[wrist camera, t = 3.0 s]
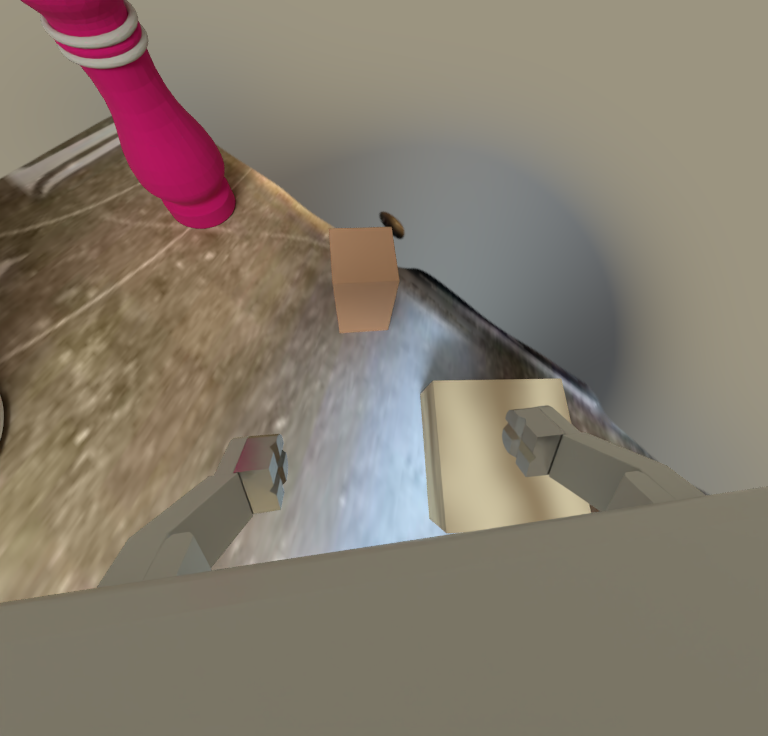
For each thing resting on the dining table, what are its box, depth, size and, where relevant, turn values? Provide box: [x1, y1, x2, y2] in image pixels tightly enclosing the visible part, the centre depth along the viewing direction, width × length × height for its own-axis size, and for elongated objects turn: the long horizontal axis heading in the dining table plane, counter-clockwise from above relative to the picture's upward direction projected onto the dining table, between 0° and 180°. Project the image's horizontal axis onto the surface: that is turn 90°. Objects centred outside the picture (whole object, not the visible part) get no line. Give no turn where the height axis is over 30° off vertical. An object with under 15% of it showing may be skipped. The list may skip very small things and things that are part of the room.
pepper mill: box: [21, 0, 235, 229], centre depth 20 cm, size 7×7×20 cm
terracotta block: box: [329, 227, 399, 333], centre depth 24 cm, size 4×4×8 cm
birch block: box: [420, 379, 591, 533], centre depth 23 cm, size 10×10×5 cm
